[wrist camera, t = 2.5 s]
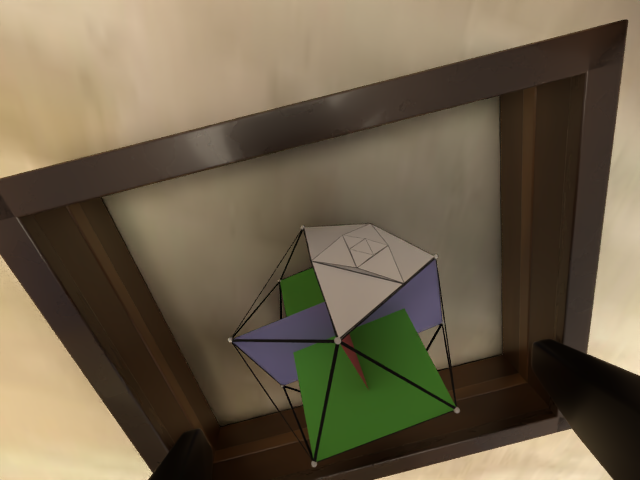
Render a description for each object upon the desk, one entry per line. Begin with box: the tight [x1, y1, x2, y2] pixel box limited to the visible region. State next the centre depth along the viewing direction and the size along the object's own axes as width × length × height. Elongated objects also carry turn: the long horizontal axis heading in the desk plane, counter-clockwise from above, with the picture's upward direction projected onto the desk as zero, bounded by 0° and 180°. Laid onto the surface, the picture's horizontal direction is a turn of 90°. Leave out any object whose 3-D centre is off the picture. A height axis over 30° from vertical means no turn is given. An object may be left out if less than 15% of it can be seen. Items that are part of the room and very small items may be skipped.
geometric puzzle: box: [228, 223, 460, 467], centre depth 11 cm, size 7×7×8 cm
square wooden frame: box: [0, 20, 628, 480], centre depth 12 cm, size 17×15×4 cm
